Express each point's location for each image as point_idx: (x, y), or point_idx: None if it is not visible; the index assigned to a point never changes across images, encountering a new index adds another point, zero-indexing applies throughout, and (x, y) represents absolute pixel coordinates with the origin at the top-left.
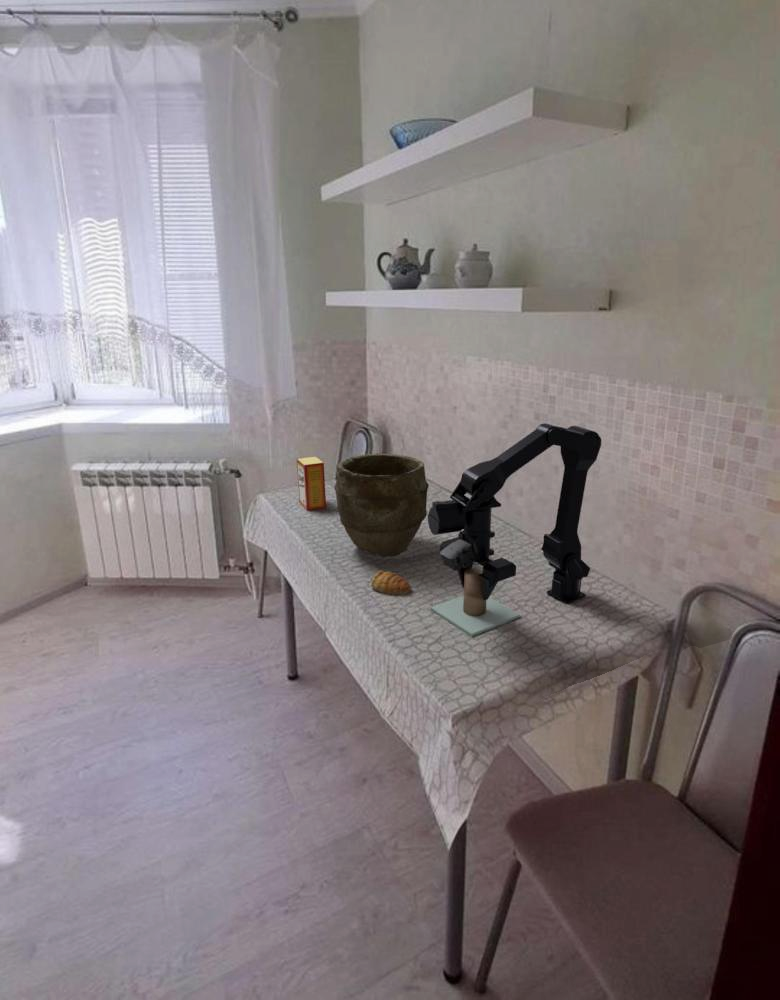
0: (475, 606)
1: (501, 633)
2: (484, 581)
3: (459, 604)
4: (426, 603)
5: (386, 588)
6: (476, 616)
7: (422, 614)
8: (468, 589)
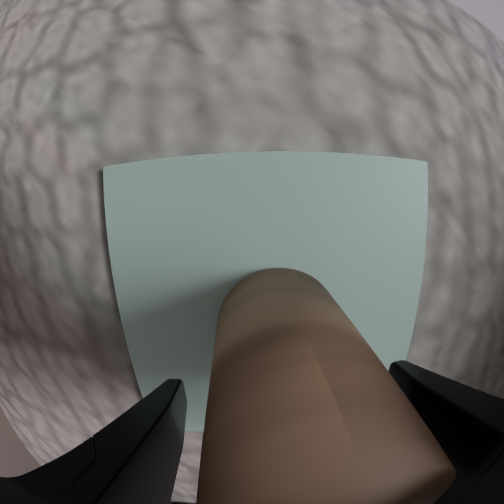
0: (227, 319)
1: (78, 296)
2: (50, 493)
3: (370, 299)
4: (460, 190)
5: None
6: (223, 296)
7: (404, 107)
8: (292, 361)
